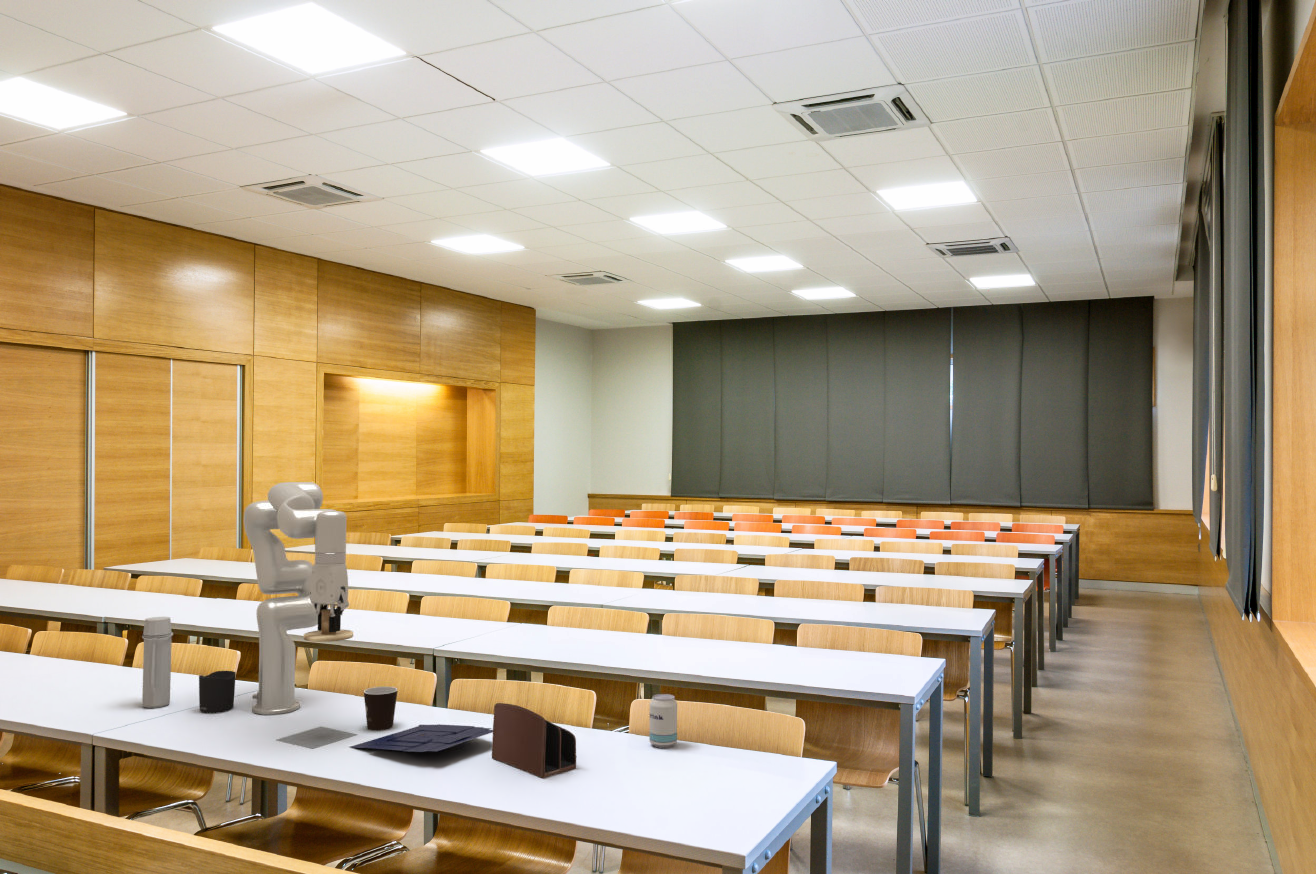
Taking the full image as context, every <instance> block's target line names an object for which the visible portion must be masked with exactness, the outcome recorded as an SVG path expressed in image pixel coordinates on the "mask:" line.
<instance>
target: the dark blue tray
mask: <svg viewBox="0 0 1316 874" xmlns="http://www.w3.org/2000/svg"><path fill="white" fill-rule="evenodd" d="M489 734H493V727H492V728H491V727H484V726H483V727H481V726H476V725H458V724H457V725H456V724H439V723H438V724H419V725H417V726H414V727H411V728H407V729H405V730H402V731H398V732H394V733H391V734H388V735H385V736H381V737H378V738H374V739H371V740H367V741H363V742H360V743H358V744H355V745H351V746H349V748H355V749H357V748H359V749H376V750H377V749H378V750H379V749H380V750H389V751H390V750H392V751H400V752H416V753H417V752H419V753H423V752H439V751H443V750H445V749H448V748H452V747H454V746H457V745H459V744H463V743H465V742H468V741H471V740H474V739H477V738H480V737H483V736H486V735H489Z"/></svg>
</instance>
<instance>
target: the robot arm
mask: <svg viewBox="0 0 1316 874" xmlns="http://www.w3.org/2000/svg"><path fill="white" fill-rule="evenodd" d="M323 500H324V495H323V492H322V488H321V487H320V485H318V484H317V483H314V482H312V481H300V482H299V481H293V482H291V481H288V482H287V481H285V482H280V483H276V484H274V485H272V487H271V488H270V489H269V490H268V493H267V500H261V501H259V500H258V501H255V502H252V503H250V504H248V505H247V506H246V507H245V510H244V513H243V527H244V532H245V535H246V537H247V539H248V542H249V544H250V546H251V549H252V552H253V557H254V565H255V572H256V580H257V585H258V589H259V591H260V592H261V593H262V594H263V595H284V594H297V595H292V596H290V595H287V596H279V597H270V598H268V599H264V600H263V601H262V602H260V603H259V604H258V606H257V609H256V620H257V621H256V623H257V628H258V640H259V643H258V645H259V646H258V647H259V648H258V649H259V651H258V652H259V654H258V655H259V659H258V663H259V664H258V691H257V692H256V693H253V695H252V698H253V700H254V699H255V700H256V704H254V705H253V706H251V707H252V709H251V710H252V713H254V714H257V715H280V714H286V713H290V712H291V713H292V712H294V711H296V710H298V709H299V708H300V707H301V702H300V701H299V700H295V693H296V692H295V690H296V688H295V687H296V685H295V684H296V644H295V642H294V640H293V639H292V638H291V636H290V635H289V634H288V633H287V632H288V631H292V630H301V629H309V628H313V627H316V626H317V631H321V623H322V610H324V609H330V612H331V617H329V632H337V631H340V629H341V620H342V619H341V616H343V613H344V611H345V610H346V609H347V608H348V607H350V604H349V577H348V569H347V561H346V559H347V557H346V556H347V514H346V513H345V512H344V511H338V510H335V509H331V508H329V509H328V508H326V509H325V508H322V509H321V506H323V505H322V504H323ZM271 530H280V532H281V533H283V534H284V535H285V536H287V537H288V538H289V539H290V538H291V539H294V540H296V539H297V540H298V539H300V540H301V539H314V564H312V563H311V562H310V561H309V560H306V559H297V560H296V559H295V560H289V559H288V558H287V554H286V547H285V545H284V543H283V541H282V540H281V539H280V538H279V537H278V536H277V535H276V534H275V533H274V532H272V531H271Z"/></svg>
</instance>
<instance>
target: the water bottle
mask: <svg viewBox="0 0 1316 874" xmlns="http://www.w3.org/2000/svg"><path fill="white" fill-rule="evenodd" d="M171 621H172V620H171V617H170V616H155V617H154V616H153V617H147V618H145V620H144V627H143V632H142V636H141V638H142V639H143V659H142V660H143V661H142V663H143V664H142V666H143V667H142V697H141V700H142V701H141V705H142V707H143V708H145V709H156V708H157V709H159V708H163V707H166V706H167V705H169V704H170V703H171V680H172V679H171V676H172V675H171V674H172V673H171V672H172V669H171V668H172V637H173V636H174V632H172V624H171V623H172V622H171Z"/></svg>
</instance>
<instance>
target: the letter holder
mask: <svg viewBox="0 0 1316 874" xmlns="http://www.w3.org/2000/svg"><path fill="white" fill-rule="evenodd" d="M492 722H493V724H492V730H493V732H492V741H491V758H492V760H496V761H498V762H501V763H503V764H505V765H508V766H511V767H512V768H515V769H518V770H520V771H523V772H525V773H528V774H531V775H533V776H536V777H538V778H540V779H546V778H549V777H552V776H556V775H560V774H562V773H563V774H564V773H566V772H571V771H572V770H576V769H577V738H576V736H575V734H574V733H573V732H571V731H570V730H568V729H566V728H563V727H562V726H559V725H556V724H555V723H552V722H551V721H549V720H547V719H545V718H544V717H543V716H542V715H540V714H538V713H536V712H534V711H532V710H531V709H528V708H525V707H522V706H519V705H516V704H511V703H505V702H497V703H495V704H494V706H493V721H492Z"/></svg>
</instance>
